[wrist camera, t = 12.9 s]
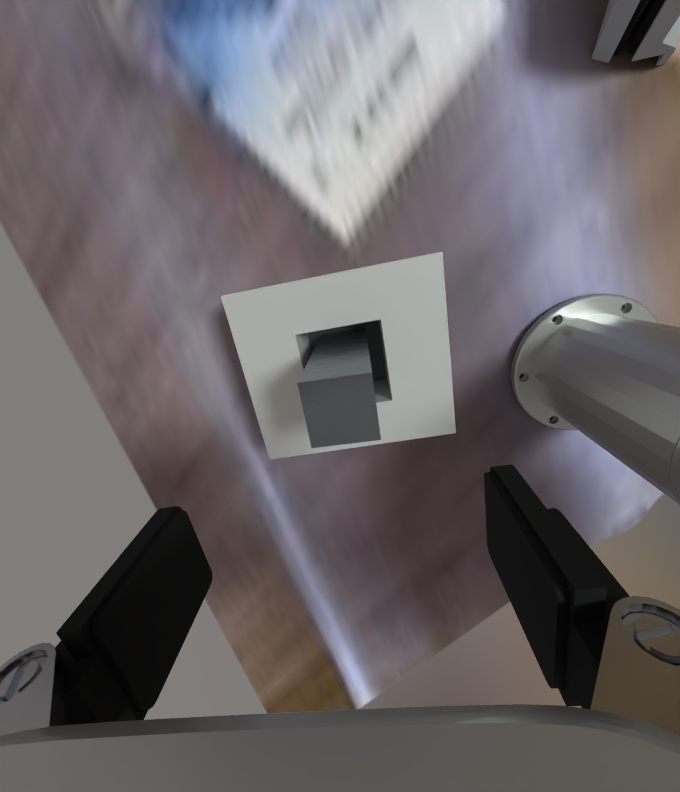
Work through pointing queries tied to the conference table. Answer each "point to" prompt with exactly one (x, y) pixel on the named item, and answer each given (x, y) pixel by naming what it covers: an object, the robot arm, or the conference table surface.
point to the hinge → (639, 29)
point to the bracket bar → (339, 391)
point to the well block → (342, 310)
